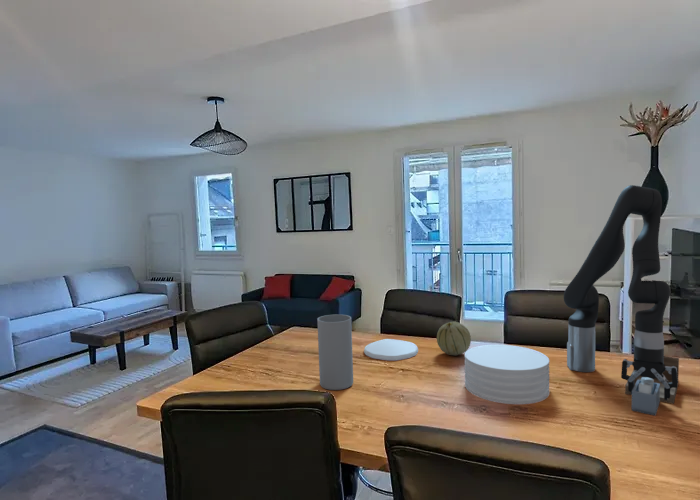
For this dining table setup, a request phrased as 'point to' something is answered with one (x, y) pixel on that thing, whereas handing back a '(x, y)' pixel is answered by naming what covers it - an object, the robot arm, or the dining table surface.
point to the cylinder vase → (335, 351)
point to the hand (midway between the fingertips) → (648, 396)
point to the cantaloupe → (453, 338)
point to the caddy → (646, 396)
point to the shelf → (667, 362)
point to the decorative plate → (391, 349)
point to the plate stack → (507, 374)
